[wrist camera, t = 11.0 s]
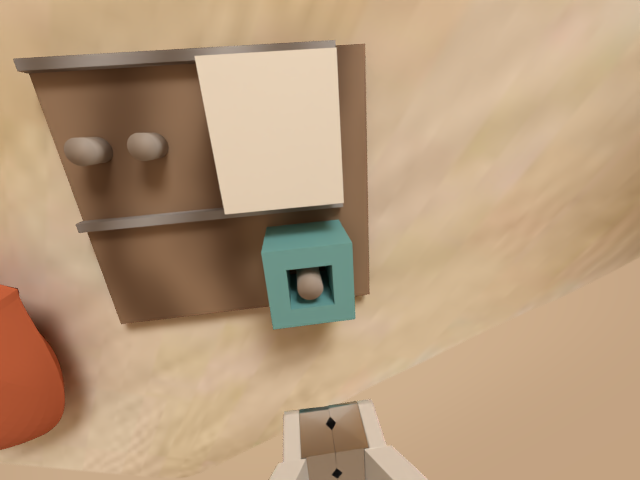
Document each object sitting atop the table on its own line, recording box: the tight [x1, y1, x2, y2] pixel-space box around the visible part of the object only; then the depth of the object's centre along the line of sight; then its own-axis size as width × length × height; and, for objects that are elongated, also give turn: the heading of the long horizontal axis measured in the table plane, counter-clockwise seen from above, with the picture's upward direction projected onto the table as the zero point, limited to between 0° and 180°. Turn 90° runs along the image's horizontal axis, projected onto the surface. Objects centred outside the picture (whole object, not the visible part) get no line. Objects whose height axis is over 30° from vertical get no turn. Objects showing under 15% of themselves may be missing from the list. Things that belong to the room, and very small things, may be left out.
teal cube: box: [261, 220, 355, 330], centre depth 21 cm, size 5×5×5 cm
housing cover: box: [194, 47, 344, 214], centre depth 18 cm, size 7×8×4 cm
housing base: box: [13, 40, 369, 324], centre depth 19 cm, size 20×18×6 cm
